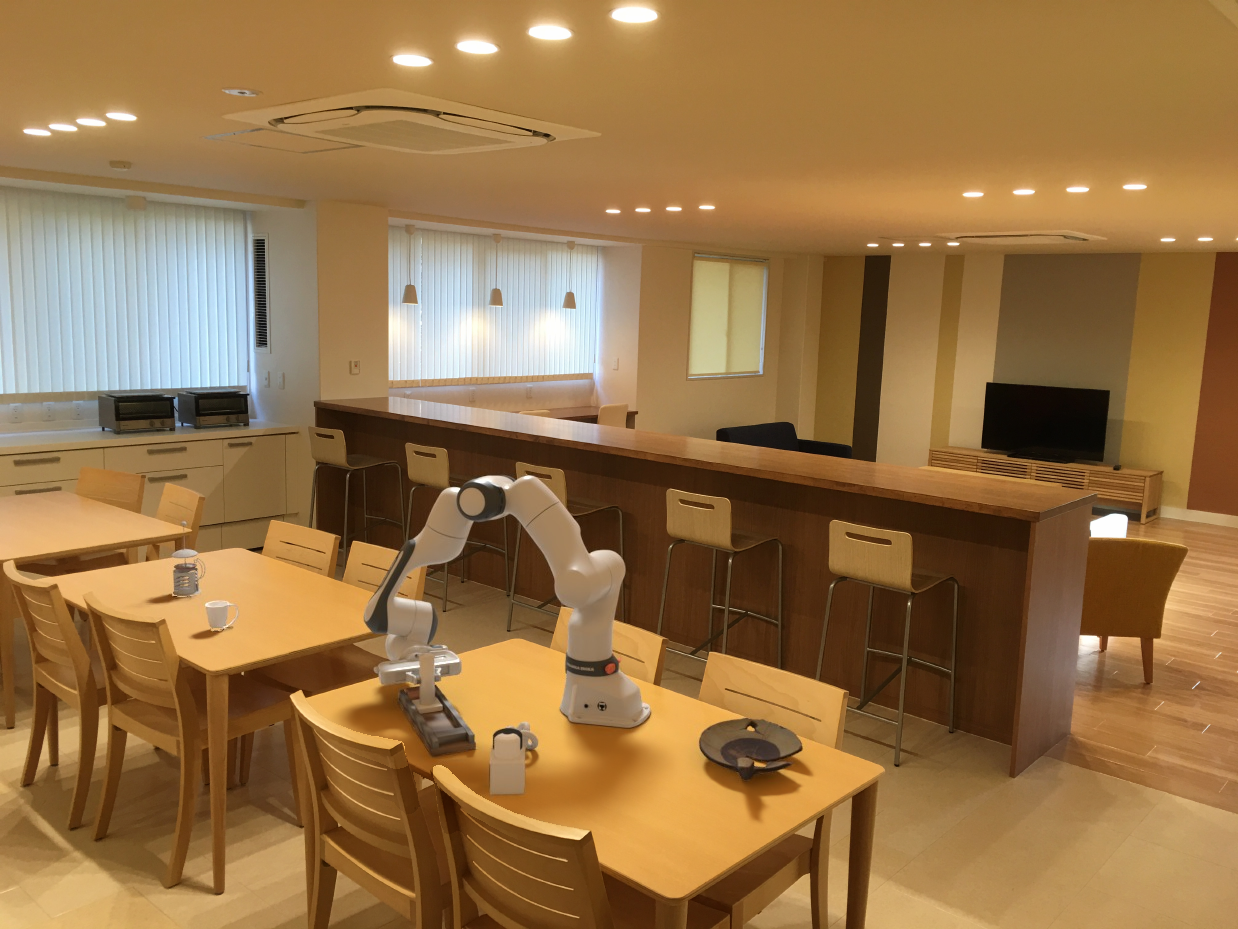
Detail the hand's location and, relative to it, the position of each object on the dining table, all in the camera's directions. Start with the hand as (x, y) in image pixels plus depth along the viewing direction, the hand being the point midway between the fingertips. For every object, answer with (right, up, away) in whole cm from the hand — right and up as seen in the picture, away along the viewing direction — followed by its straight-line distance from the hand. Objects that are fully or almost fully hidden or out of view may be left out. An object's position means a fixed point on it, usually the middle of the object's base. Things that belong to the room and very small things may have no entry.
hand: (427, 680), depth 233 cm
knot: (+24, -13, -16) cm, 32 cm away
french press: (-100, +8, +96) cm, 139 cm away
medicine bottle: (+23, -15, -33) cm, 43 cm away
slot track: (+2, -10, -4) cm, 11 cm away
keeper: (-1, -7, +2) cm, 7 cm away
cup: (-74, +2, +61) cm, 96 cm away
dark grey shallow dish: (+73, -14, -21) cm, 78 cm away
